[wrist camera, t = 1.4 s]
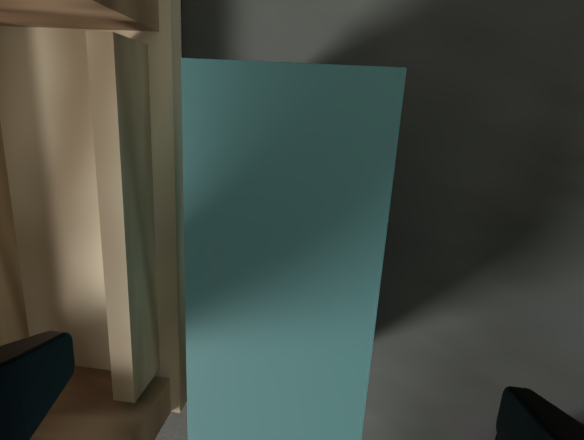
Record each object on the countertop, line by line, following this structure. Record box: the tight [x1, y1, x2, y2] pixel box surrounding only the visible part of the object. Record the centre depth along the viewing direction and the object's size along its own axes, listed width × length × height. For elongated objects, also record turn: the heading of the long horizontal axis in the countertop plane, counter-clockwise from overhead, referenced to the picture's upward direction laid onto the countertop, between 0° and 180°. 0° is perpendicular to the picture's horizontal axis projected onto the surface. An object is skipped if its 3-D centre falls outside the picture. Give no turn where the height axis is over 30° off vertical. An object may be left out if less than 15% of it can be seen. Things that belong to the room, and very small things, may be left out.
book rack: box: [0, 0, 187, 440], centre depth 16 cm, size 10×20×7 cm, turn 177°
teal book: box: [181, 58, 407, 440], centre depth 13 cm, size 4×12×10 cm, turn 177°
